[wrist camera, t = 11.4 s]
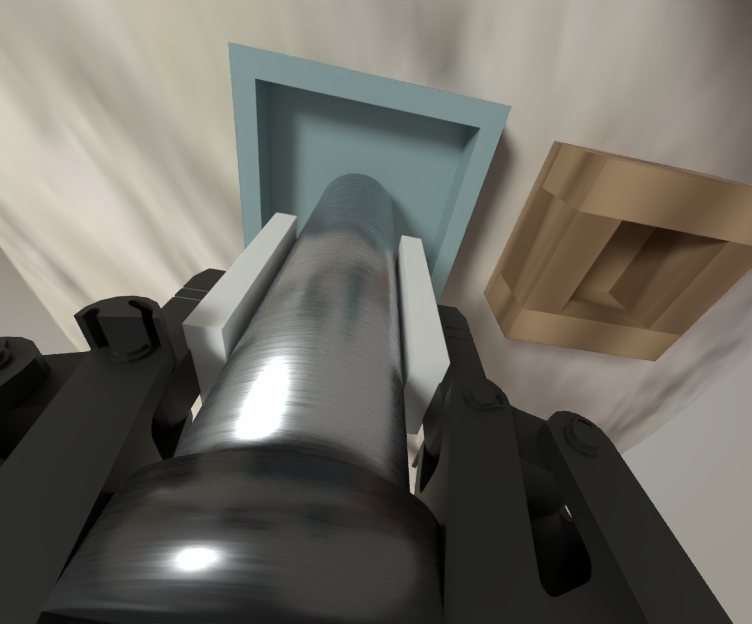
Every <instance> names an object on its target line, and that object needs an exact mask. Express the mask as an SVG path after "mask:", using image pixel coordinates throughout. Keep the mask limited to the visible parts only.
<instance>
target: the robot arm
mask: <svg viewBox="0 0 752 624" xmlns="http://www.w3.org/2000/svg"><path fill="white" fill-rule="evenodd" d="M296 240H297V216H294V215H288V214H283V213H277V212H276V214H275V215H274V216H273V217H272V218H271V219H270V221H269V222H268V223H267V224H266V225H265V227H264V228H263V229H262V230H261V231H260V232H259V234H258V235H257V236H256V237H255V238H254V240H253V241H252V242H251V243H250V244H249V245H248V247H247V248H246V249H245V250H244V251H243V252H242V254H241V255H240V256H239V257H238V258H237V260H236V261H235V262H234V263H233V264H232V265H231V267H230V268H229V269H228V270H227V271H222V270H216V269H207V270H205V271H203V272H201V273H199V274H197V275H195V276H193V277H192V278H191V279H190V280H189V281H188V282H187V283H186V284H185V285H184V286H183V288H181V289H180V290H179V291H178V292H177V293H176V294H175V297H172V298H171V299H170V300H169V301H168V302H167V303H166V304H165V305H164V306H163V307H162V308H160V306H159V305H158V303H157V302H155V301H153V300H151V299H149V298H146V297H139V296H119V297H113V298H109V299H104V300H100V301H98V302H96V303H93V304H91V305H88V306H86V307H84V308H83V309H82V310H80V311H79V312H78V313H76V314H75V315H74V317H75V319H76V321H77V323H78V325H79V327H80V329H81V331H82V333H83V335H84V337H85V338H86V340H87V342H88V344H89V346H90V348H91V350H90V351H87V352H76V353H65V354H52V355H42V354H41V353H40V351H39V350H38V348H37V347H36V345H35V344H34V342H33V341H31V340H28V339H25V338H23V337H0V624H68V623H66V622H64V621H62V620H60V619H58V618H55V617H53V616H51V615H49V614H47V613H44V612H42V611H38V610H39V609H40V607H41V606H42V604H43V603H44V601H45V600H46V598H47V597H48V595H49V593H50V592H51V590H52V589H53V587H54V586H55V584H56V583H57V581H58V579H59V578H60V576H61V575H62V573H63V571H64V570H65V568H66V567H67V565H68V563H69V562H70V560H71V559H72V557H73V555H74V554H75V552H76V551H77V549H78V548H79V546H80V545H81V543H82V542H83V540H84V539H85V537H86V535H87V534H88V532H89V531H90V529H91V528H92V526H93V525H94V523H95V522H96V520H97V519H98V517H99V516H100V514H101V513H102V511H103V510H104V508H105V507H106V505H107V504H108V502H109V501H110V499H111V498H112V496H113V495H114V493H115V492H116V490H117V489H118V487H119V486H120V484H121V483H122V482H123V481H124V480H125V479H126V478H127V477H128V476H129V475H130V474H132V473H134V472H135V471H137V470H139V469H140V468H142V467H145V466H147V465H150V464H153V463H155V462H158V461H162V460H166V459H170V458H173V456H174V454H175V452H176V451H177V449H178V447H179V445H180V444H181V442H182V440H183V438H184V437H185V435H186V433H187V431H188V430H189V428H190V426H191V424H192V420H193V415H192V411H191V408H192V406H193V404H194V403H195V401H196V399H197V398H198V396H199V394H200V397H201V401H202V405H203V403H204V402H205V400H206V398H207V396H208V394H209V393H210V391H211V389H212V387H213V386H214V384H215V382H216V380H217V379H218V377H219V375H220V373H221V372H222V370H223V368H224V366H225V365H226V363H227V361H228V359H229V358H230V356H231V354H232V352H233V351H234V349H235V347H236V345H237V344H238V342H239V340H240V338H241V336H242V335H243V333H244V331H245V329H246V328H247V326H248V324H249V322H250V321H251V319H252V317H253V315H254V314H255V312H256V310H257V308H258V307H259V305H260V303H261V301H262V300H263V298H264V296H265V294H266V293H267V291H268V289H269V287H270V286H271V284H272V282H273V280H274V278H275V277H276V275H277V273H278V271H279V270H280V268H281V266H282V264H283V263H284V261H285V259H286V257H287V256H288V254H289V252H290V250H291V249H292V247H293V245H294V243H295V242H296ZM396 270H397V287H398V303H399V320H400V336H401V352H402V369H403V385H404V402H405V418H406V433H409V434H418V432H419V429H420V427H421V425H422V423H423V430H424V441H423V443H422V445H421V447H420V449H419V451H418V453H417V455H416V457H415V459H414V461H413V464H412V467H414V468H416V467H417V475H416V483H415V492H414V495H415V496H416V497H418V498H419V499H420V500H421V501H422V502H423V503H424V504H425V505H427V506H428V507H429V509H430V510H431V511H432V513H433V514H434V515H435V517H436V520H437V522H438V526H439V541H440V556H441V571H442V591H443V617H444V624H733V623H732V621H731V620H730V618H729V617H728V615H727V614H726V612H725V611H724V609H723V608H722V606H721V605H720V603H719V602H718V600H717V599H716V597H715V596H714V594H713V593H712V591H711V590H710V588H709V587H708V585H707V584H706V582H705V581H704V579H703V578H702V576H701V575H700V573H699V572H698V570H697V569H696V567H695V566H694V564H693V563H692V562H691V560H690V558H689V557H688V555H687V554H686V553H685V551H684V549H683V548H682V546H681V545H680V544H679V542H678V540H677V539H676V538H675V536H674V534H673V533H672V531H671V530H670V528H669V527H668V526H667V524H666V522H665V521H664V519H663V518H662V517H661V515H660V514H659V512H658V510H657V509H656V507H655V506H654V504H653V503H652V501H651V500H650V499H649V497H648V496H647V494H646V493H645V491H644V490H643V488H642V487H641V485H640V484H639V482H638V481H637V479H636V478H635V476H634V475H633V473H632V472H631V470H630V469H629V467H628V466H627V464H626V463H625V461H624V460H623V458H622V457H621V455H620V454H619V452H618V451H617V449H616V448H615V446H614V445H613V443H612V442H611V440H610V439H609V438H608V437H607V436H606V435H605V433H604V432H603V431H602V430H601V429H600V428H599V427H597V426H596V425H595V424H594V423H592V422H591V421H590V420H588V419H586V418H584V417H582V416H580V415H579V414H576V413H572V412H568V411H559V412H555V413H554V414H553V415H552V416H551V417H550V418H549V419H548V420H547V421H546V420H543V419H541V418H538V417H536V416H533V415H531V414H528V413H526V412H524V411H521V410H519V409H517V408H515V407H513V406H511V405H510V403H509V401H508V398H507V396H506V395H505V394H504V392H503V391H502V390H501V389H500V388H499V387H498V386H497V385H495V384H494V383H493V382H491V381H490V380H488V379H487V378H486V376H485V373H484V370H483V367H482V364H481V361H480V358H479V355H478V352H477V349H476V347H475V344H474V342H473V338H472V335H471V333H470V329H469V326H468V323H467V320H466V318H465V317H464V316H463V315H462V314H461V313H460V311H459V310H458V309H457V308H455V307H449V306H443V305H437V304H436V301H435V297H434V292H433V288H432V284H431V279H430V275H429V271H428V267H427V262H426V258H425V254H424V249H423V245H422V241H421V239H419V238H414V237H409V236H403V235H402V236H401V241H400V245H399V249H398V253H397V257H396ZM417 465H418V466H417ZM566 505H567V508H568V510H569V512H570V514H571V516H572V517H571V516H570V515H569V513H568V512H567V510H566V508H565V506H566Z"/></svg>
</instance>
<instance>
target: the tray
mask: <svg viewBox="0 0 752 624" xmlns="http://www.w3.org/2000/svg"><path fill="white" fill-rule="evenodd" d="M228 45H229V57H230V70H231V82H232V95H233V107H234V120H235V132H236V144H237V157H238V169H239V182H240V194H241V207H242V219H243V232H244V244H245V249H246V248H247V247H248V245H249V244H250V243H251V242H252V241H253V240H254V238H255V237H256V236H257V235H258V234H259V232H260V231H261V230H262V229H263V228H264V227H265V225H266V224H267V223H268V222H269V221H270V219H271V218H272V217H273V216H274V215H275V214H276V212H277V213H283V214H288V215H294V216H297V238H298V236H299V235H300V233H301V231H302V229H303V228H304V226H305V224H306V222H307V220H308V219H309V217H310V215H311V213H312V212H313V210H314V208H315V206H316V205H317V203H318V201H319V199H320V198H321V196H322V194H323V192H324V191H325V189H326V187H327V186H328V185H329V184H330V183H331V182H332V181H333V180H335V179H336V178H338V177H340V176H342V175H346V174H351V173H358V174H364V175H367V176H369V177H372V178H373V179H375V180H377V181H378V182H379V183H380V184H381V185H382V186H383V187H384V188H385V189H386V191H387V192H388V194H389V196H390V199H391V202H392V207H393V221H394V238H395V254H396V257H397V253H398V249H399V245H400V241H401V236H402V235H403V236H409V237H414V238H419V239H421V241H422V245H423V249H424V254H425V258H426V262H427V267H428V271H429V275H430V279H431V284H432V288H433V292H434V297H435V301H436V304H437V305H438V304H439V301H440V298H441V296H442V293H443V290H444V287H445V285H446V282H447V279H448V277H449V274H450V271H451V269H452V266H453V263H454V260H455V258H456V255H457V252H458V250H459V247H460V244H461V242H462V239H463V236H464V233H465V231H466V228H467V225H468V223H469V220H470V217H471V214H472V212H473V209H474V206H475V204H476V201H477V198H478V196H479V193H480V190H481V187H482V185H483V182H484V179H485V177H486V174H487V171H488V168H489V166H490V163H491V160H492V158H493V155H494V152H495V150H496V147H497V144H498V141H499V139H500V136H501V133H502V131H503V128H504V125H505V122H506V120H507V117H508V114H509V112H510V109H511V106H507V105H503V104H498V103H494V102H490V101H485V100H481V99H477V98H472V97H468V96H463V95H459V94H455V93H450V92H446V91H441V90H437V89H433V88H428V87H424V86H419V85H415V84H411V83H406V82H402V81H397V80H393V79H389V78H384V77H380V76H375V75H371V74H367V73H362V72H358V71H353V70H349V69H345V68H340V67H336V66H331V65H327V64H323V63H318V62H314V61H309V60H305V59H301V58H296V57H292V56H288V55H283V54H279V53H274V52H270V51H266V50H261V49H257V48H252V47H248V46H244V45H239V44H235V43H230V42H228Z"/></svg>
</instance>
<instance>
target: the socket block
mask: <svg viewBox="0 0 752 624" xmlns="http://www.w3.org/2000/svg"><path fill="white" fill-rule="evenodd" d="M751 267H752V186H749V185H746V184H742V183H738V182H735V181H731V180H728V179H724V178H720V177H716V176H712V175H707V174H703V173H698V172H694V171H689V170H685V169H680V168H676V167H671V166H666V165H662V164H657V163H653V162H648V161H644V160H639V159H635V158H630V157H626V156H621V155H616V154H612V153H607V152H603V151H598V150H594V149H589V148H585V147H580V146H576V145H571V144H566V143H562V142H557V141H554V143H553V146H552V148H551V150H550V152H549V154H548V156H547V158H546V161H545V163H544V165H543V167H542V169H541V171H540V173H539V176H538V178H537V180H536V182H535V184H534V186H533V189H532V191H531V193H530V195H529V197H528V199H527V201H526V204H525V206H524V208H523V210H522V212H521V214H520V216H519V219H518V221H517V223H516V225H515V227H514V229H513V231H512V234H511V236H510V238H509V240H508V242H507V244H506V247H505V249H504V251H503V253H502V255H501V257H500V259H499V262H498V264H497V266H496V268H495V270H494V272H493V274H492V277H491V279H490V281H489V283H488V285H487V287H486V289H485V292H484V294H485V296H486V298H487V300H488V302H489V304H490V307H491V309H492V311H493V313H494V315H495V317H496V319H497V321H498V323H499V325H500V328H501V330H502V332H503V334H504V336H505V338H510V339H516V340H523V341H529V342H535V343H542V344H548V345H554V346H561V347H567V348H573V349H580V350H586V351H592V352H599V353H605V354H611V355H618V356H624V357H630V358H637V359H643V360H649V361H656V360H657V359H658V358H659V357H660V356H661V355H662V354H663V353H664V352H665V351H666V350H667V349H668V348H669V347H670V346H671V345H672V344H673V343H674V342H675V341H677V340H678V339H679V338H680V337H681V336H682V335H683V334H684V333H685V332H686V331H687V330H688V329H689V328H690V327H691V326H692V325H693V324H694V323H695V322H696V321H697V320H698V319H699V318H700V317H701V316H702V315H703V314H704V313H705V312H706V311H707V310H708V309H709V308H710V307H711V306H712V305H713V304H714V303H715V302H717V301H718V300H719V299H720V298H721V297H722V296H723V295H724V294H725V293H726V292H727V291H728V290H729V289H730V288H731V287H732V286H733V285H734V284H735V283H736V282H737V281H738V280H739V279H740V278H741V277H742V276H743V275H744V274H745V273H746V272H747V271H748V270H749V269H750V268H751Z"/></svg>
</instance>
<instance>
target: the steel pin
mask: <svg viewBox="0 0 752 624" xmlns="http://www.w3.org/2000/svg"><path fill="white" fill-rule="evenodd" d="M38 611H42V612H44V613H47V614H49V615H51V616H53V617H55V618H58V619H60V620H62V621H64V622H66V623H68V624H444V617H443V591H442V571H441V556H440V541H439V526H438V522H437V520H436V517H435V515H434V514H433V513H432V511H431V510H430V509H429V507H428V506H427V505H425V504H424V503H423V502H422V501H421V500H420V499H419V498H418V497H416V496H415V495H413V494H411V493H410V484H409V467H408V451H407V435H406V418H405V402H404V385H403V369H402V352H401V336H400V320H399V303H398V287H397V270H396V254H395V238H394V221H393V207H392V202H391V199H390V196H389V194H388V192H387V191H386V189H385V188H384V187H383V186H382V185H381V184H380V183H379V182H378V181H377V180H375V179H373V178H372V177H369V176H367V175H364V174H358V173H351V174H346V175H342V176H340V177H338V178H336V179H335V180H333V181H332V182H331V183H330V184H329V185H328V186H327V187H326V189H325V191H324V192H323V194H322V196H321V198H320V199H319V201H318V203H317V205H316V206H315V208H314V210H313V212H312V213H311V215H310V217H309V219H308V220H307V222H306V224H305V226H304V228H303V229H302V231H301V233H300V235H299V236H298V238H297V240H296V242H295V243H294V245H293V247H292V249H291V250H290V252H289V254H288V256H287V257H286V259H285V261H284V263H283V264H282V266H281V268H280V270H279V271H278V273H277V275H276V277H275V278H274V280H273V282H272V284H271V286H270V287H269V289H268V291H267V293H266V294H265V296H264V298H263V300H262V301H261V303H260V305H259V307H258V308H257V310H256V312H255V314H254V315H253V317H252V319H251V321H250V322H249V324H248V326H247V328H246V329H245V331H244V333H243V335H242V336H241V338H240V340H239V342H238V344H237V345H236V347H235V349H234V351H233V352H232V354H231V356H230V358H229V359H228V361H227V363H226V365H225V366H224V368H223V370H222V372H221V373H220V375H219V377H218V379H217V380H216V382H215V384H214V386H213V387H212V389H211V391H210V393H209V394H208V396H207V398H206V400H205V402H204V403H203V405H202V407H201V409H200V410H199V412H198V414H197V416H196V417H195V419H194V421H193V423H192V424H191V426H190V428H189V430H188V431H187V433H186V435H185V437H184V438H183V440H182V442H181V444H180V445H179V447H178V449H177V451H176V452H175V454H174V456H173V458H170V459H166V460H162V461H158V462H155V463H153V464H150V465H147V466H145V467H142V468H140V469H139V470H137V471H135V472H134V473H132V474H130V475H129V476H128V477H127V478H126V479H125V480H124V481H123V482H122V483H121V484H120V486H119V487H118V489H117V490H116V492H115V493H114V495H113V496H112V498H111V499H110V501H109V502H108V504H107V505H106V507H105V508H104V510H103V511H102V513H101V514H100V516H99V517H98V519H97V520H96V522H95V523H94V525H93V526H92V528H91V529H90V531H89V532H88V534H87V535H86V537H85V539H84V540H83V542H82V543H81V545H80V546H79V548H78V549H77V551H76V552H75V554H74V555H73V557H72V559H71V560H70V562H69V563H68V565H67V567H66V568H65V570H64V571H63V573H62V575H61V576H60V578H59V579H58V581H57V583H56V584H55V586H54V587H53V589H52V590H51V592H50V593H49V595H48V597H47V598H46V600H45V601H44V603H43V604H42V606H41V607H40V609H39V610H38Z"/></svg>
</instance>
